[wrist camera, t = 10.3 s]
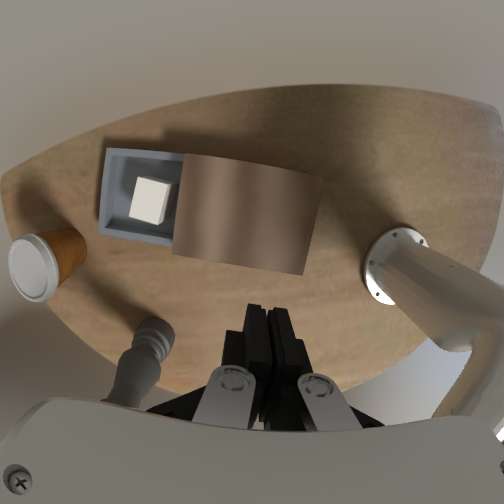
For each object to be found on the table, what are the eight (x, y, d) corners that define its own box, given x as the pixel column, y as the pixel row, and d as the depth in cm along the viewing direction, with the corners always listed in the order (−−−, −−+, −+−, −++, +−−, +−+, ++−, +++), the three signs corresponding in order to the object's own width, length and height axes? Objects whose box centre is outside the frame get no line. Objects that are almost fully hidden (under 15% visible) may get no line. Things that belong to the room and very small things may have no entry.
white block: (167, 184, 31) (137, 176, 30) (157, 224, 32) (128, 216, 31) (178, 183, 35) (151, 176, 35) (168, 218, 37) (142, 211, 36)
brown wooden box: (312, 177, 36) (324, 177, 30) (294, 260, 39) (302, 275, 33) (194, 156, 35) (185, 152, 29) (182, 242, 38) (171, 254, 32)
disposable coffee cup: (72, 206, 36) (23, 220, 25) (105, 254, 38) (62, 282, 27) (44, 241, 38) (-2, 262, 26) (74, 285, 40) (33, 316, 28)
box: (194, 156, 35) (190, 154, 32) (182, 242, 38) (177, 247, 35) (116, 149, 34) (106, 147, 31) (107, 229, 37) (98, 233, 34)
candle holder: (137, 315, 41) (63, 429, 17) (173, 319, 41) (118, 448, 17) (142, 346, 43) (84, 461, 19) (176, 350, 43) (134, 477, 19)
